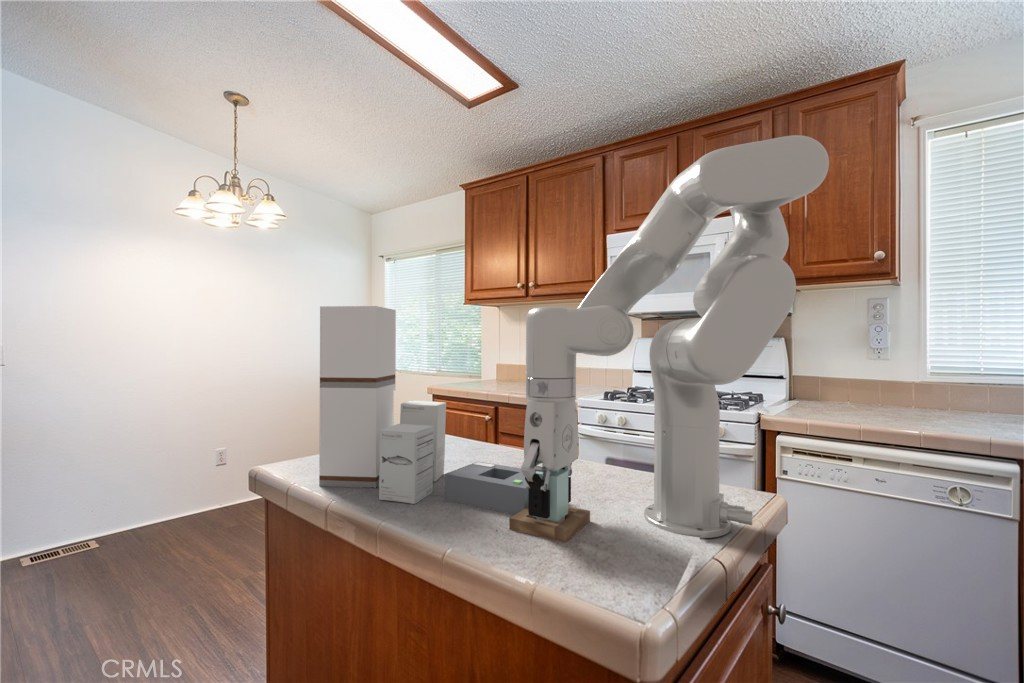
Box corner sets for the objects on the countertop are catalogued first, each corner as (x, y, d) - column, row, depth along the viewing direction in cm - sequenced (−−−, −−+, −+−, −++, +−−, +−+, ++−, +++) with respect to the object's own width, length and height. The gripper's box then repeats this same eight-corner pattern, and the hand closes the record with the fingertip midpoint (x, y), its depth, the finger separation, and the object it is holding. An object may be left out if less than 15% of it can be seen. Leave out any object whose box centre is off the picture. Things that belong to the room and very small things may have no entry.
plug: (568, 523, 71) (568, 463, 71) (556, 532, 67) (557, 469, 67) (544, 518, 73) (544, 460, 73) (532, 526, 69) (532, 466, 69)
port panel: (552, 501, 82) (552, 471, 82) (524, 520, 74) (524, 486, 74) (477, 487, 90) (477, 459, 90) (444, 502, 82) (445, 472, 82)
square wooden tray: (589, 525, 72) (590, 510, 72) (565, 546, 64) (565, 530, 64) (537, 513, 76) (537, 500, 76) (509, 533, 69) (509, 518, 69)
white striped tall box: (395, 472, 100) (395, 310, 101) (375, 487, 90) (376, 306, 90) (344, 471, 102) (344, 310, 102) (319, 486, 91) (320, 306, 91)
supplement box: (377, 501, 83) (377, 429, 83) (399, 488, 90) (399, 422, 90) (414, 505, 80) (415, 431, 80) (434, 492, 87) (434, 424, 87)
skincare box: (397, 480, 95) (397, 403, 95) (408, 471, 101) (409, 399, 101) (437, 482, 94) (437, 404, 94) (446, 473, 100) (446, 400, 100)
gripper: (547, 396, 61) (547, 534, 61) (595, 386, 76) (594, 496, 76) (498, 393, 65) (498, 522, 65) (553, 384, 80) (553, 489, 80)
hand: (550, 507), depth 70 cm, fingers open, 6 cm apart
